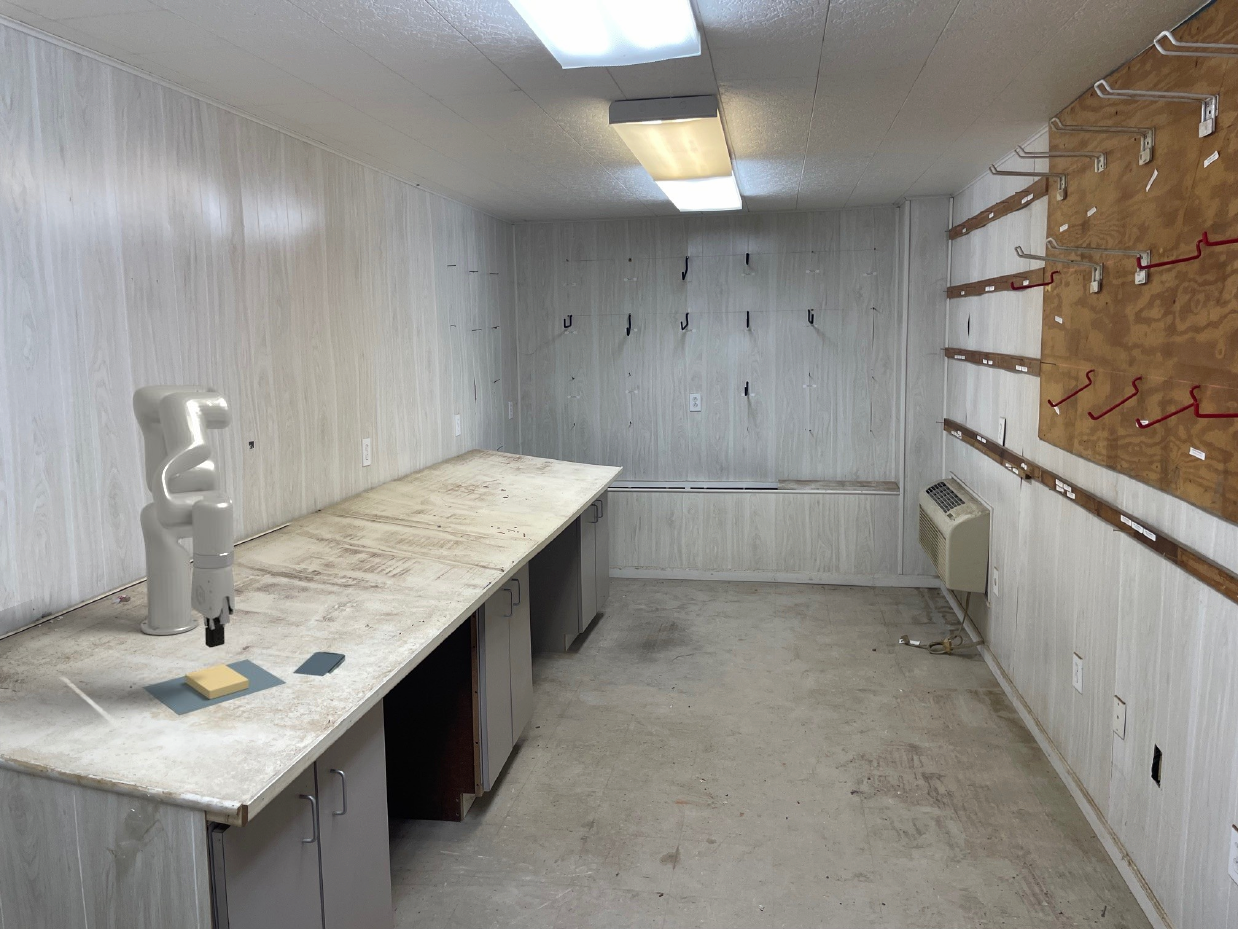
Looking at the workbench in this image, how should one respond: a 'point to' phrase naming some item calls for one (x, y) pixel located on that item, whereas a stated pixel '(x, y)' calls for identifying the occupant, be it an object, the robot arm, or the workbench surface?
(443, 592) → the workbench surface
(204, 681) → the beige rectangular block
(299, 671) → the smartphone
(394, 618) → the workbench surface
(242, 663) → the rubber mat
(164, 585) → the robot arm
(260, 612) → the workbench surface
